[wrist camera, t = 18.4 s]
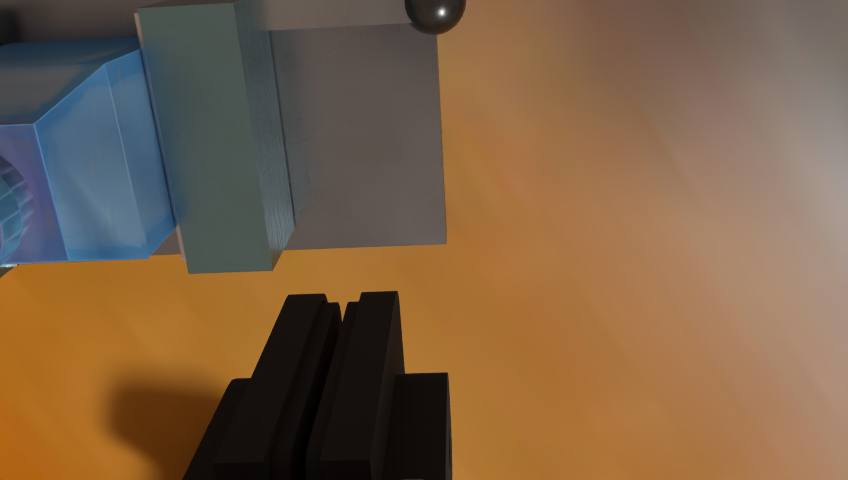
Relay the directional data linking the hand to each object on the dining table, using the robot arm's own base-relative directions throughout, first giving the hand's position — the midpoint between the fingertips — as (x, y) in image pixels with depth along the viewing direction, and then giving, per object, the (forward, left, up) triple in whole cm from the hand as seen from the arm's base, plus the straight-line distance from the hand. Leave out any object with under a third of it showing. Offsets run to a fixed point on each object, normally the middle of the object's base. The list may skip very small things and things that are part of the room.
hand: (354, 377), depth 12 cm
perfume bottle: (+12, 0, -18) cm, 22 cm away
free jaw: (+3, 0, -18) cm, 18 cm away
